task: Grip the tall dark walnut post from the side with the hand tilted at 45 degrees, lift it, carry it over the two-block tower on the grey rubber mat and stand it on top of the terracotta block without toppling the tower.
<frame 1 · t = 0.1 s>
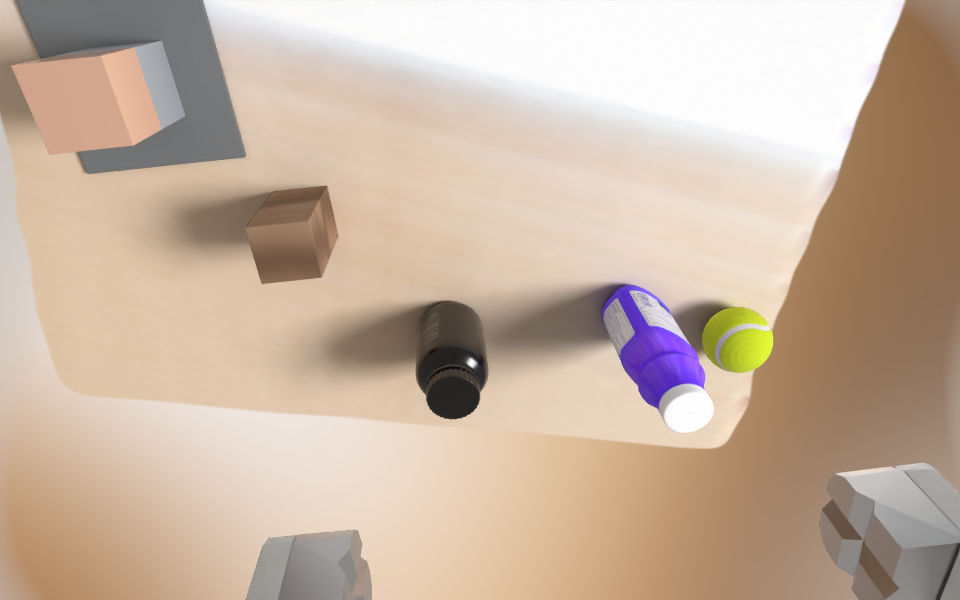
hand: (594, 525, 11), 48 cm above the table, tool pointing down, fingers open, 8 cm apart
tower top: (109, 93, 47), point 5 cm above the table, touching tower bottom
walnut post: (306, 214, 58), on the table
rubber mat: (140, 82, 51), on the table
tennis ball: (723, 322, 66), on the table
tower bottom: (138, 83, 51), resting on rubber mat, touching tower top
supplement bottle: (450, 327, 65), on the table
bottle: (630, 307, 64), on the table
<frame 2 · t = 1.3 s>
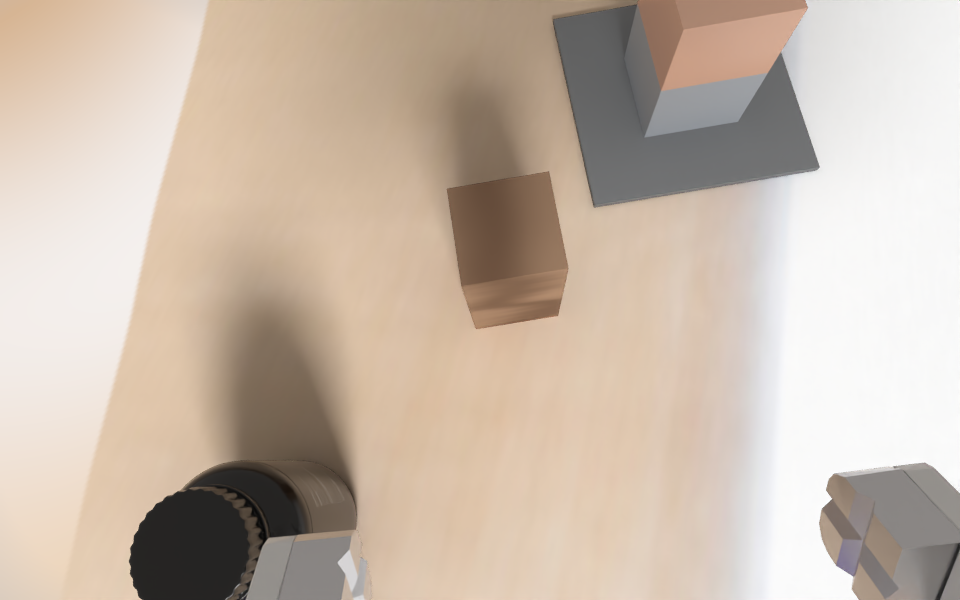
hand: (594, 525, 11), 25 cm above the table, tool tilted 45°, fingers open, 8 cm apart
tower top: (701, 37, 35), point 5 cm above the table, touching tower bottom
walnut post: (510, 283, 38), on the table
rubber mat: (678, 93, 40), on the table
tower bottom: (679, 89, 40), resting on rubber mat, touching tower top
supplement bottle: (301, 523, 35), on the table
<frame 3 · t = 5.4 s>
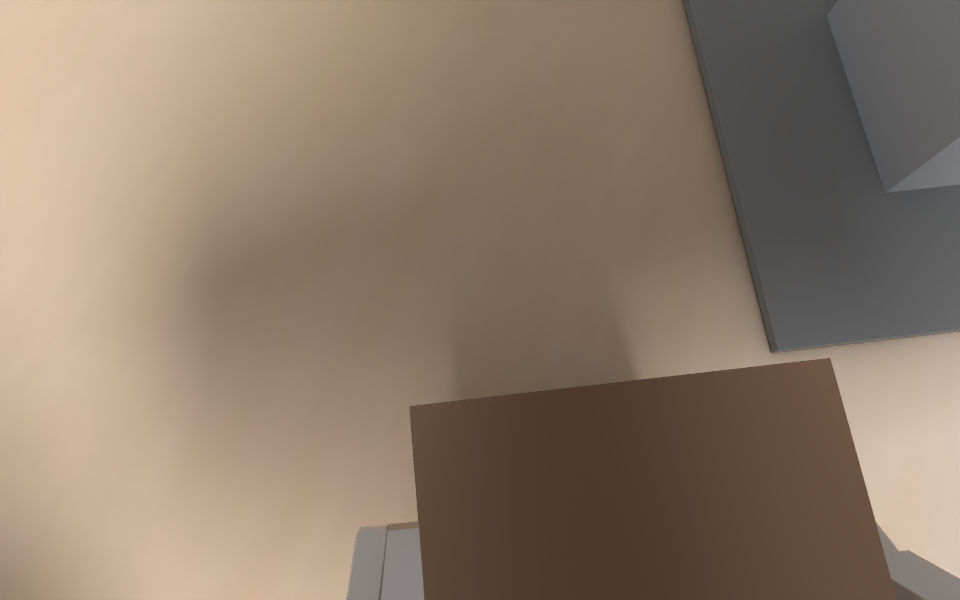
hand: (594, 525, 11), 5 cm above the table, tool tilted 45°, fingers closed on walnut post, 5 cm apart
walnut post: (569, 539, 15), on the table, touching gripper
rubber mat: (947, 96, 18), on the table
tower bottom: (956, 88, 18), resting on rubber mat, touching tower top
when the fingers open (16 cm above the table, at t = 9.5 s): walnut post drops 1 cm, resting on tower top.
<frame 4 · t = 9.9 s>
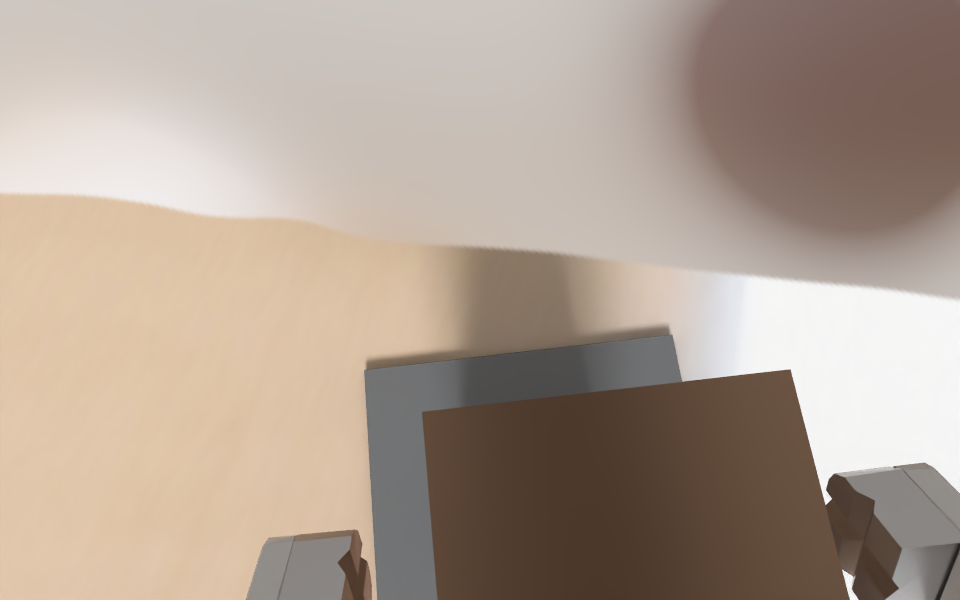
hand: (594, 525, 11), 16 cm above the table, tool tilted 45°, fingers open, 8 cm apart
walnut post: (565, 533, 16), point 10 cm above the table, touching tower top
rubber mat: (539, 514, 26), on the table
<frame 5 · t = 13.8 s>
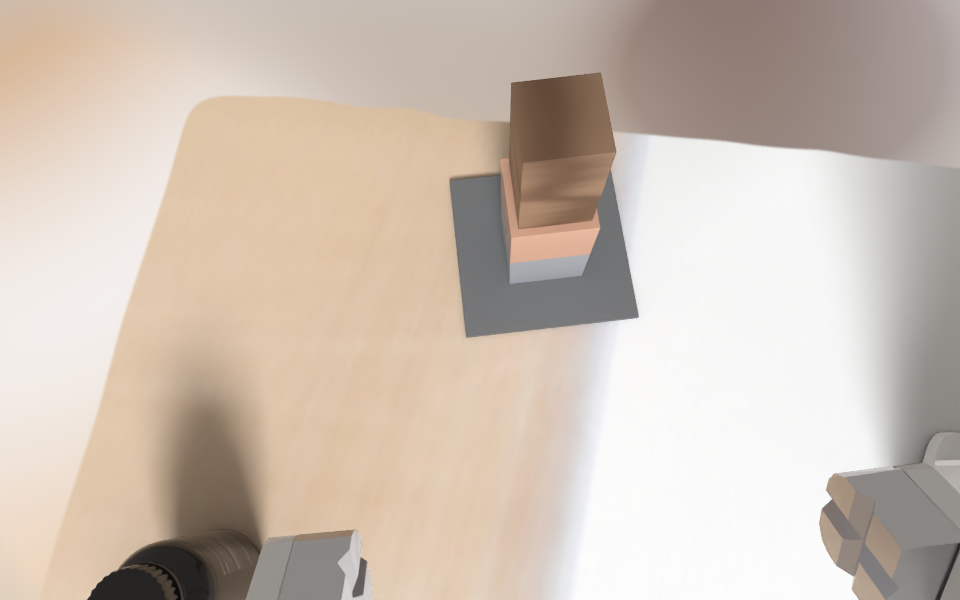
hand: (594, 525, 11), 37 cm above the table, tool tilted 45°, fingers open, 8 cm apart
tower top: (544, 222, 47), point 5 cm above the table, touching tower bottom, walnut post
walnut post: (550, 191, 42), point 10 cm above the table, touching tower top
rubber mat: (540, 247, 52), on the table
tower bottom: (540, 246, 52), resting on rubber mat, touching tower top
supplement bottle: (221, 578, 46), on the table
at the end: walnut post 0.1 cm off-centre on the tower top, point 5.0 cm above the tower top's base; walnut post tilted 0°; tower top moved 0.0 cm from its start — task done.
